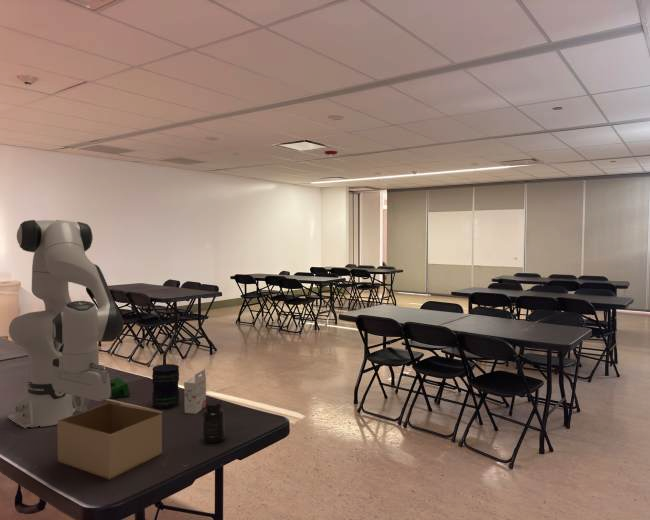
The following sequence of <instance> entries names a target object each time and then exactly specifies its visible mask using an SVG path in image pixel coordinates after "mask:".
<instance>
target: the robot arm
mask: <svg viewBox="0 0 650 520" xmlns="http://www.w3.org/2000/svg"><path fill="white" fill-rule="evenodd" d="M93 238H94V235H93V232H92V228H91V226H90V225H89V224H88V223H85V222H80V221H77V222H75V221H70V220H69V221H68V220H62V219H61V220H60V219H59V220H58V219H56V220H47V219H46V220H45V219H44V220H35V219H29V220H24V221H23V222H22V223H21V224H19V227H18V229H17V232H16V239H17V243H18V245H19V248H21V250H22V251H24V252H28V253H33V257H32V265H31V266H32V268H31V293H32V294H33V296H35V298H37V299H39V300H42V302H43V304H44V307H45V309H44V310H39V311H32V312H31V311H30V312H26V313H24V314H20V315H18V316H16V317H14V318H13V319H11V322H10V323H9V326H8V333H9V337H10V339H11V340H12V341H13V343H15V344H16V345H18V346H20V347H21V348H22V349H23V350H24V351H25V352H26V354H27V357H28V359H29V364H30V376H31V377H30V379H31V380H30V381H28V382H26V383H27V384H26V386H27V387H28V389H27V392H26V393H25V394H24V395H23V396H22V397H20V398H19V399H18V400H17V402H16V403H15V408H14V409H15V410H14V411H15V412H13V413H11V414H9V415H8V416H7V419H8V418H9V419H10V420H12V421H13V422H15V423H17V424H18V425H20V426H21V427H24V428H23V429H27V428H26V427H31V428H39V427H38V426H40V428H41V427H43V428H44V427H51V426H55V425H57V421H58V420H61V419H63V418H66V417H69V416H72V415H74V413H76V412H79V413H81V412H82V413H83V412H86V411H87V410H89V408H88V405H89V404H90V401H96V402H102V400H105V399H110V397H111V396H112V395H111V386H110V374H109V373H108V370H107V368H105V366H104V365H103V364H100V362H99V361H100V359H99V356H100V354H99V353H100V352H99V351H100V350H99V349H100V348H99V345H98V342H101V343H104V342H105V343H106V342H107V343H110V342H114V341H115V340H116V339H118V338H119V337H120V336H121V334H122V333H123V332H124V319H123V315H122V313H121V312H120V310H119V308H118V306H117V305H116V303H115V300H114V297H113V295H112V293H111V289H110V288H109V284H108V283H107V281H106V279H105V275H104V273H103V272H102V270H101V268H100V266H99V265H98V264H95V263H93V262H92V261H91V260H90V259H89V258H88V256H87V255H86V252H87V251H88V250H89V249H90V248H91V246H92V243H93V240H94V239H93ZM69 283H72V284H76V285H79V286H83V287H85V288H87V289H88V290H90V291H91V293H92V295H93V298H94V300H95V302H96V304H95V303H93V302H91V301H86V300H75V301H74V300H73V301H72V299H71V296H70V291H69ZM96 305H97V307H96ZM54 341H55V342H57V343H59V344H60V345H63V347H62V352H61V351H59V350H56V348H55V345H54ZM73 404H74V407H73ZM9 419H8V420H9ZM10 420H9V421H10ZM12 421H11V422H12ZM13 422H12V423H13ZM15 423H14V424H15ZM17 424H16V425H17ZM18 425H17V426H18ZM20 426H19V427H20ZM21 427H20V428H21Z"/></svg>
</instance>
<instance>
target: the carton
mask: <svg viewBox="0 0 650 520" xmlns="http://www.w3.org/2000/svg"><path fill="white" fill-rule="evenodd" d="M56 425H57V428H56V429H57V430H56V431H57V462H58V461H59V462H58V463H60V462H61V463H60V464H63V463H64V464H63V465H65V464H66V466H68V465H69V467H71V466H72V468H74V467H75V469H77V468H78V470H80V471H83V470H84V471H83V472H86V471H87V472H86V473H89V474H91V475H95V476H98V477H101V478H104V479H106V480H113V479H115V478H117V477H120V476H121V475H122V474H125V473H126V472H128V471H130V470H133V469H134V468H136V467H139V466H140V465H143V464H144V463H146V462H148V461H150V460H152V459H153V458H155V457H158V456H159V455H162V454H163V413H157V412H152V411H146V410H141V409H136V408H130V407H125V406H119V405H114V404H110V403H104V404H101V405H98V406H95V407H93V408H90V409H89V408H88V410H87V411H86V412H83V413H82V412H79V413H76V414H73V415H72V416H69V417H66V418H63V419H61V420H58V421H57V424H56Z"/></svg>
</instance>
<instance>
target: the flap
mask: <svg viewBox="0 0 650 520" xmlns="http://www.w3.org/2000/svg"><path fill="white" fill-rule="evenodd" d="M101 402H102V403H105V404H107V403H110V404H114V405H119V406H125V407H130V408H136V409H141V410H146V411H152V412H156V413H161V414H163V410H156V409H154V408H151V407H145V406H140V405H136V404H133V403H132V404H131V403H127V402H124V401H120V400H119V401H118V400H115V399H110V398H108V399H105V400H102V401H101Z"/></svg>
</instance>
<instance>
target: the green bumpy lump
mask: <svg viewBox="0 0 650 520" xmlns="http://www.w3.org/2000/svg"><path fill="white" fill-rule="evenodd" d="M110 386H111V395H110V396H111V398H112V399H115V398H118V397H120V396H122V397H123V398H126V397H128V396H131V393H130V389H129V386H128V383H127V382H126V381H124V380H123V379H121V378H119V377H116V378H113V379H111V380H110Z"/></svg>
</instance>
